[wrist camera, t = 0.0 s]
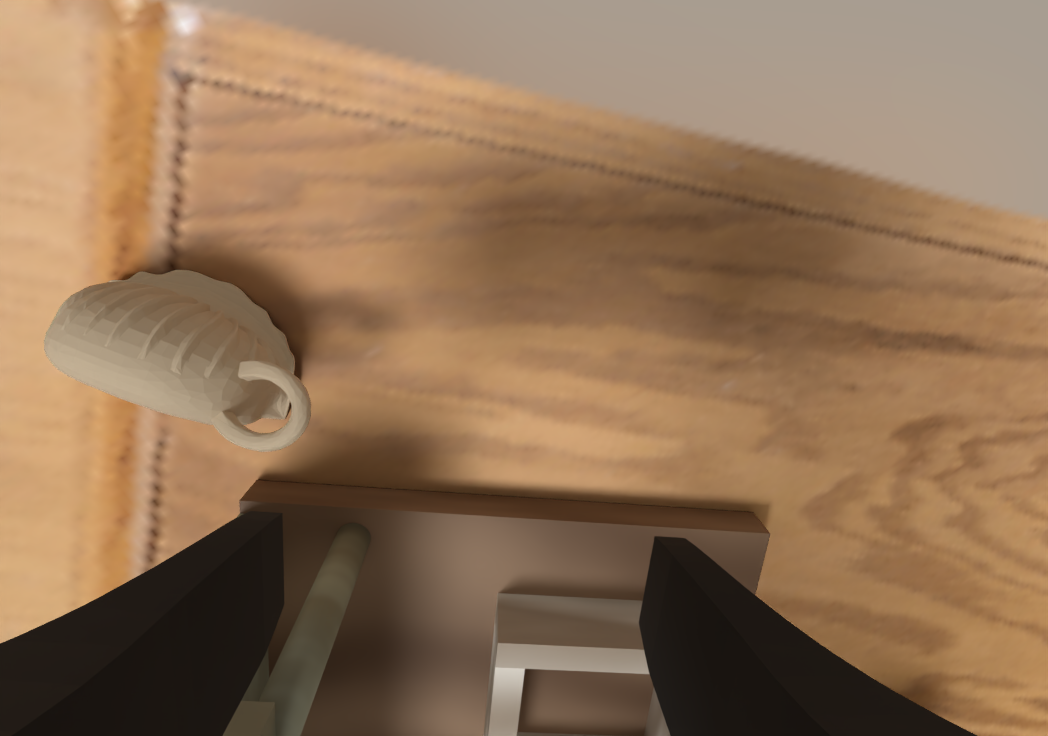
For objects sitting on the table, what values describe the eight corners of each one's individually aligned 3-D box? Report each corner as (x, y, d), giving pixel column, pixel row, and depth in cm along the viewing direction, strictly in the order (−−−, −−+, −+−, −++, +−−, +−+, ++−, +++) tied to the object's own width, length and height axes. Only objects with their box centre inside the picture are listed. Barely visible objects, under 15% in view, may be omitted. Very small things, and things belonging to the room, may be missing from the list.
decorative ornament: (120, 235, 19) (-20, 251, 14) (363, 342, 20) (318, 393, 15) (88, 345, 20) (-55, 397, 15) (322, 440, 21) (266, 519, 16)
